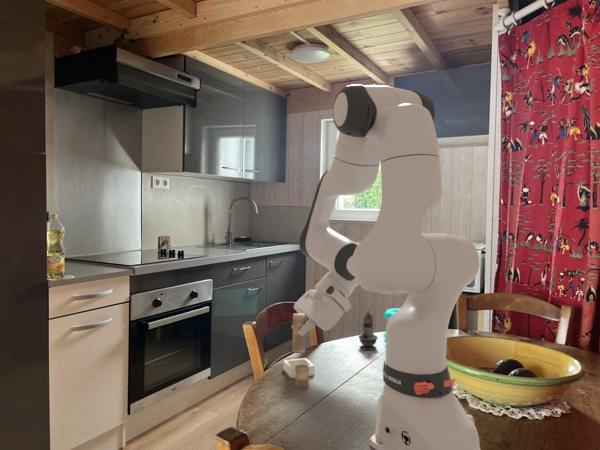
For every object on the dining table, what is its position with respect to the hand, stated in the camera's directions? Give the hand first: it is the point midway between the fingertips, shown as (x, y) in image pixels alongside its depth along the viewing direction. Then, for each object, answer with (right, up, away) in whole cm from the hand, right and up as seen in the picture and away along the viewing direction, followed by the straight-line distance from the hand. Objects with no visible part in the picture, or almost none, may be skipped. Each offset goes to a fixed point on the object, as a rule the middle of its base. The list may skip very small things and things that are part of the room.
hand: (296, 331), depth 118 cm
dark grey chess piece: (+22, -11, +21) cm, 33 cm away
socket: (+1, -11, 0) cm, 11 cm away
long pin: (+1, -5, 0) cm, 5 cm away
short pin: (+1, -11, -9) cm, 15 cm away
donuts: (+34, -10, +30) cm, 47 cm away
